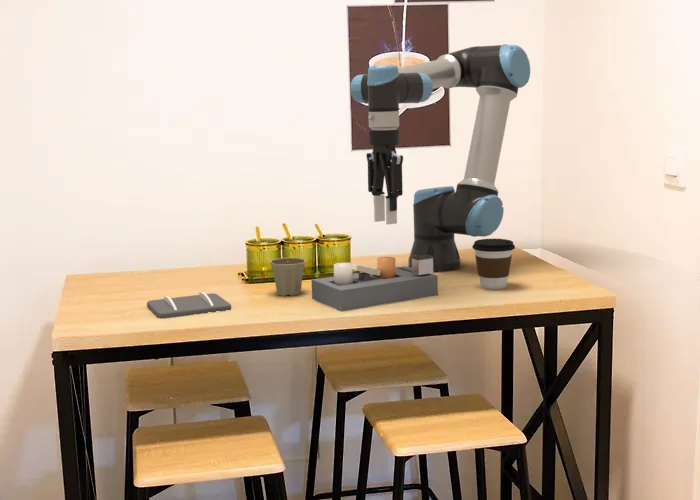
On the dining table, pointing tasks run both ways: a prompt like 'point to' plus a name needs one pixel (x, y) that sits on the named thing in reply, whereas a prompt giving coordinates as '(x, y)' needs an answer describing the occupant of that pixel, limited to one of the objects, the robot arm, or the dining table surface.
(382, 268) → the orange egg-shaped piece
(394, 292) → the console
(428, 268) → the fader
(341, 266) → the button white
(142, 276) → the dining table surface
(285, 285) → the flower pot
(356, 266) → the rocker
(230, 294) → the dining table surface
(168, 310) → the grey flat slab
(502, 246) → the coffee cup
